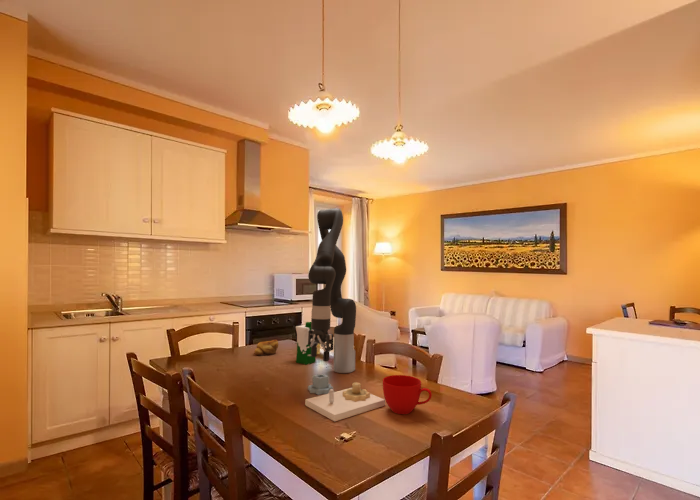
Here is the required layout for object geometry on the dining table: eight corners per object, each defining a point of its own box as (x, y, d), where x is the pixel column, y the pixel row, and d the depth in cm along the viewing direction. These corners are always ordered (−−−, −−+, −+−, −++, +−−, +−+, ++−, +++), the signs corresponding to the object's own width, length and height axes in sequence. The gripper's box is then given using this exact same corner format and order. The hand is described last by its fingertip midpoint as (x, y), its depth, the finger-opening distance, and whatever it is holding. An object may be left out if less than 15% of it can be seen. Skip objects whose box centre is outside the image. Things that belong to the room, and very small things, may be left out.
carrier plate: (353, 392, 144) (354, 374, 144) (384, 405, 130) (385, 385, 131) (305, 405, 130) (305, 385, 130) (334, 421, 117) (334, 399, 117)
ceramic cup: (424, 424, 115) (424, 391, 116) (375, 412, 124) (375, 382, 125) (437, 410, 126) (438, 381, 127) (392, 400, 135) (392, 372, 136)
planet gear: (323, 384, 152) (323, 371, 152) (338, 391, 145) (338, 376, 145) (302, 389, 146) (303, 375, 146) (317, 396, 138) (317, 381, 139)
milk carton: (306, 365, 181) (307, 324, 182) (292, 362, 186) (293, 322, 187) (318, 361, 188) (318, 322, 189) (304, 359, 193) (305, 320, 194)
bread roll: (256, 357, 196) (257, 342, 196) (250, 353, 204) (251, 338, 204) (279, 354, 203) (280, 339, 203) (273, 350, 211) (273, 336, 211)
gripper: (339, 318, 143) (338, 361, 143) (318, 314, 154) (317, 354, 154) (323, 319, 139) (322, 364, 138) (303, 315, 150) (302, 356, 149)
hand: (319, 358), depth 146 cm, fingers open, 8 cm apart
